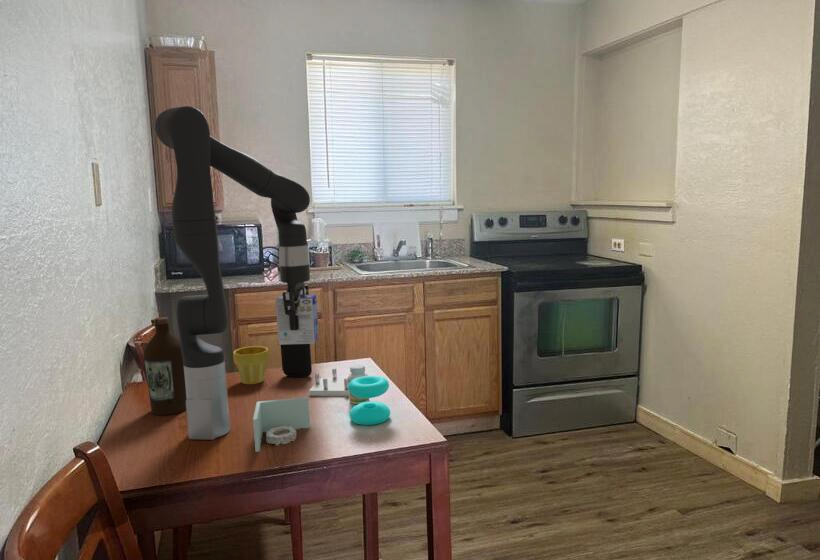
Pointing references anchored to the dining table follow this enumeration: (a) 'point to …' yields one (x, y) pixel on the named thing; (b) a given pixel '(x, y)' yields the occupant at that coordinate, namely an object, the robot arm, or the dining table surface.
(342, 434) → the dining table surface
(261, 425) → the right angle wall
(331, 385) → the pin tray
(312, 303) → the ink cartridge box
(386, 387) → the donuts
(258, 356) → the plant pot
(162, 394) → the olive oil
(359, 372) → the supplement bottle
